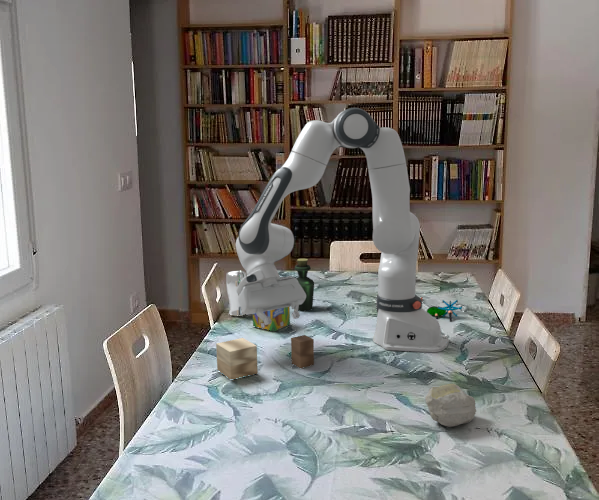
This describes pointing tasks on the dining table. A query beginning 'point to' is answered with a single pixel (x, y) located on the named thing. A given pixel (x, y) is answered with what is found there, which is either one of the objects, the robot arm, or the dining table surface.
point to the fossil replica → (450, 405)
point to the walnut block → (302, 351)
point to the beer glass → (234, 291)
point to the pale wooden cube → (237, 358)
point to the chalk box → (273, 319)
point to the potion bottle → (305, 284)
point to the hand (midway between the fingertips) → (283, 320)
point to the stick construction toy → (443, 310)
